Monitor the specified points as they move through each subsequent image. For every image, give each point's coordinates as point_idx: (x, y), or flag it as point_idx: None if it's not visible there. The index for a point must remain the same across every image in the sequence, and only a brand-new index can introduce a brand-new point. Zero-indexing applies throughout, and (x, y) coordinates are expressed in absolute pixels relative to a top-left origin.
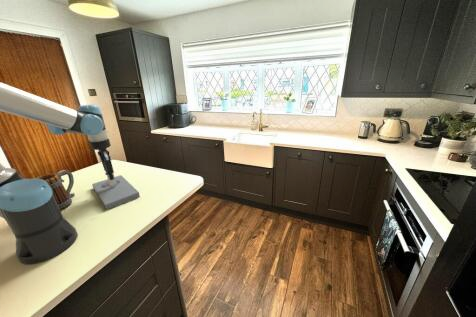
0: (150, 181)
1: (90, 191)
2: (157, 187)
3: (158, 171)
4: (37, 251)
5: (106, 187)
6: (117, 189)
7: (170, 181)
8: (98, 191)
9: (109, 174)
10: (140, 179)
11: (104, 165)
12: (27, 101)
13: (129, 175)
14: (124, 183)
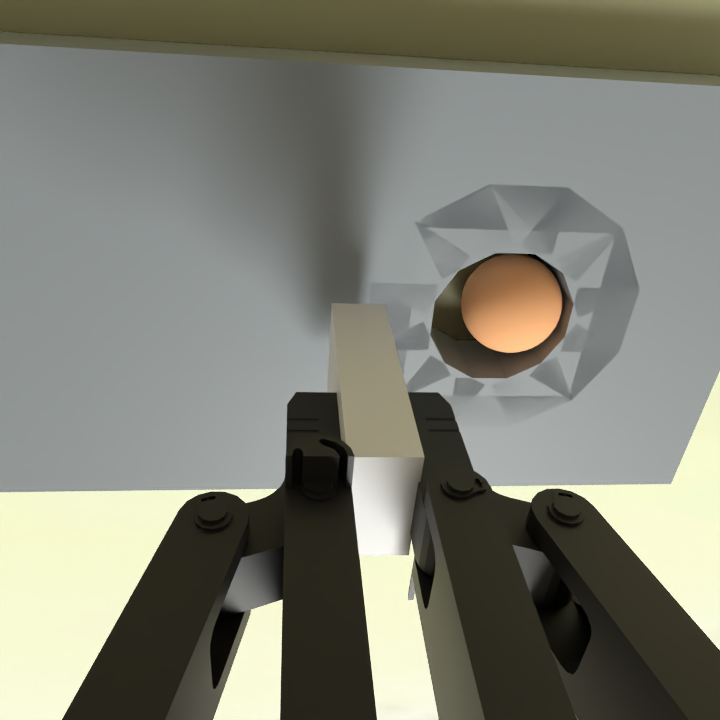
0: (260, 607)
1: (709, 3)
2: (45, 610)
3: (435, 702)
4: None
5: (437, 237)
6: (205, 334)
7: None
8: (394, 93)
9: (280, 490)
10: (411, 562)
11: (371, 705)
12: None
13: (647, 518)
14: None
